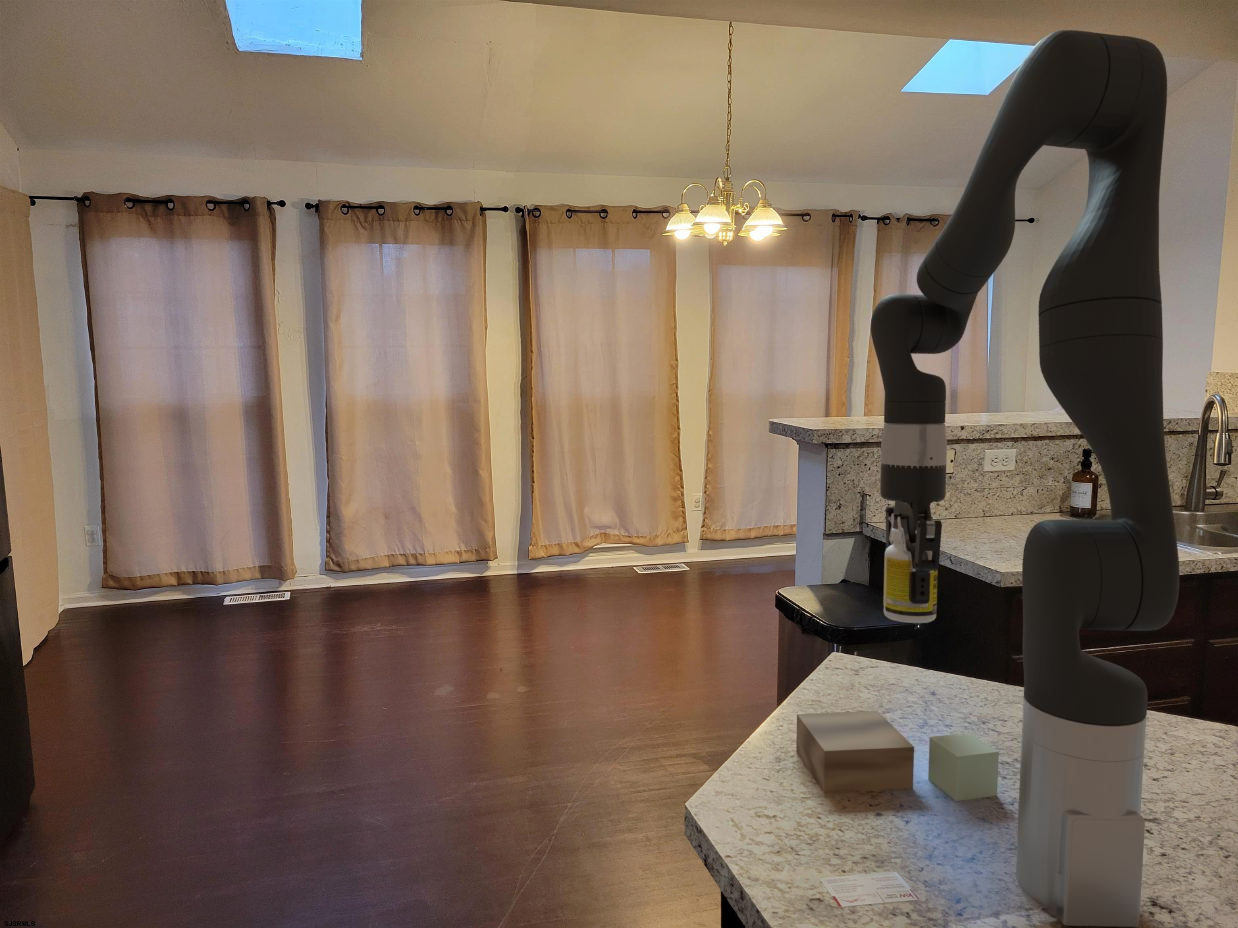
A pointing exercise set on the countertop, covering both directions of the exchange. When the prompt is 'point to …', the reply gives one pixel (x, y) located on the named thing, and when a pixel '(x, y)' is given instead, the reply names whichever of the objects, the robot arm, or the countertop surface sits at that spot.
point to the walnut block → (854, 751)
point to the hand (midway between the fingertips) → (909, 595)
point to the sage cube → (963, 766)
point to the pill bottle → (904, 587)
